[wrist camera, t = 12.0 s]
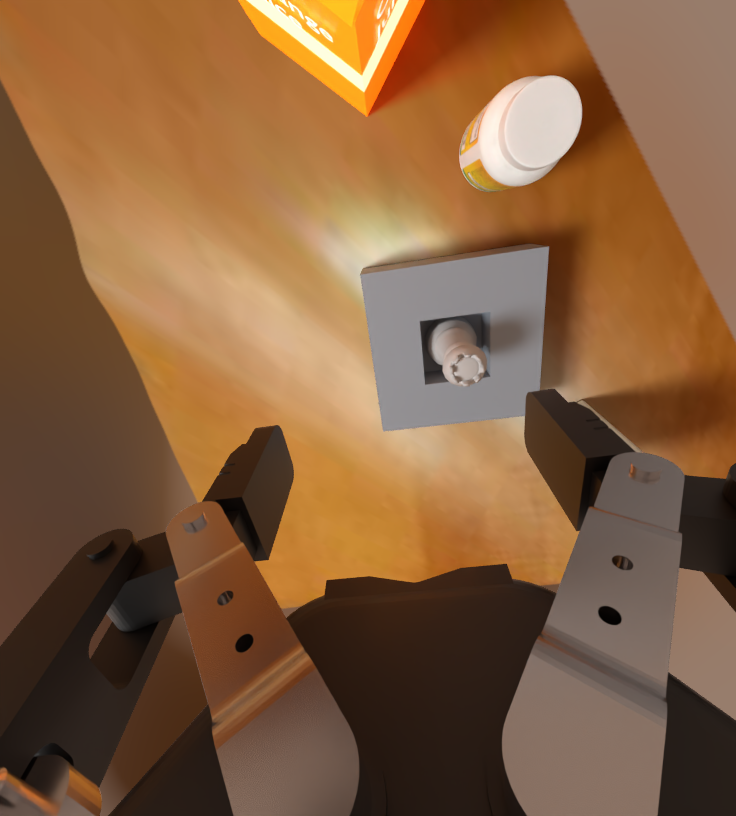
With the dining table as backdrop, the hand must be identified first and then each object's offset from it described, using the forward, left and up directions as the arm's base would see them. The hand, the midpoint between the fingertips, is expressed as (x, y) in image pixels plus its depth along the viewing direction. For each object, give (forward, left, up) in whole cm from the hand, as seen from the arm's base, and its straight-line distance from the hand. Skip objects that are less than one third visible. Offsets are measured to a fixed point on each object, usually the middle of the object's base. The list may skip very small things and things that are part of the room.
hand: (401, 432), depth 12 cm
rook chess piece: (+4, +5, -23) cm, 24 cm away
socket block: (+4, +5, -24) cm, 24 cm away
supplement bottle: (-10, +9, -24) cm, 27 cm away
